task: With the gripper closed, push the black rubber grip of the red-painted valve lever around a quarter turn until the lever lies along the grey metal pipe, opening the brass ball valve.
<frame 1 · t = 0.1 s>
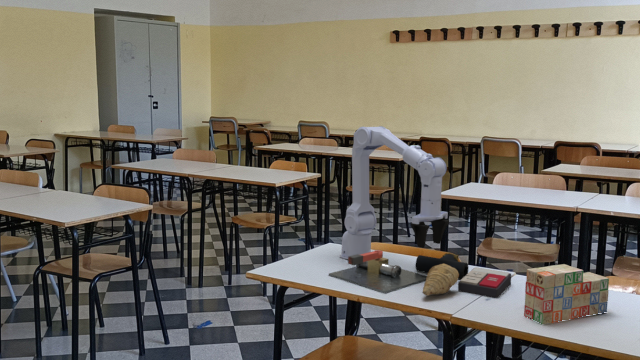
hand: (428, 245, 177), 10 cm above the table, fingers open, 7 cm apart
lever: (366, 257, 178), point 6 cm above the table, hinge at 0.0°
stack of blocks: (565, 316, 149), on the table
calculator: (484, 289, 170), on the table
seashell: (437, 295, 163), on the table
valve: (377, 273, 182), on the table
pipe connector: (445, 273, 185), on the table
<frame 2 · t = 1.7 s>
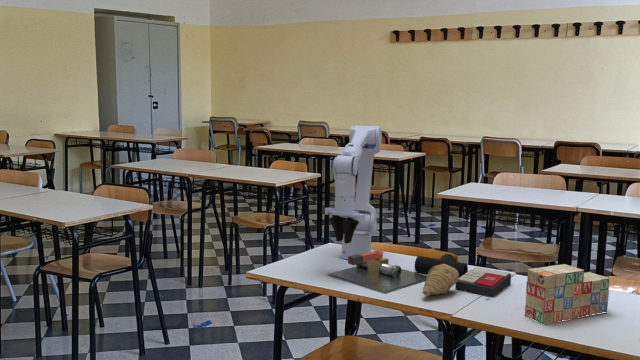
hand: (343, 241, 177), 10 cm above the table, fingers open, 3 cm apart
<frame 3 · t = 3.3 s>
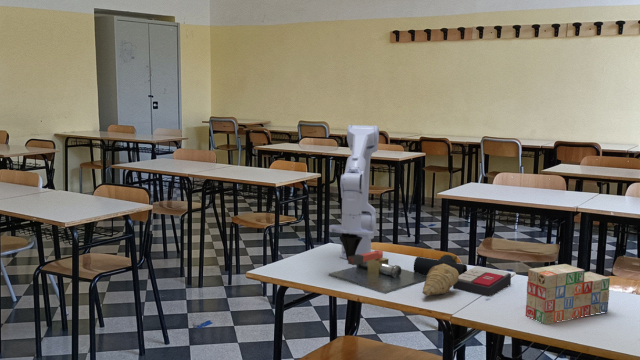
hand: (350, 259, 176), 6 cm above the table, fingers closed, pressing on lever
lever: (366, 257, 178), point 6 cm above the table, hinge at 0.0°, touching gripper
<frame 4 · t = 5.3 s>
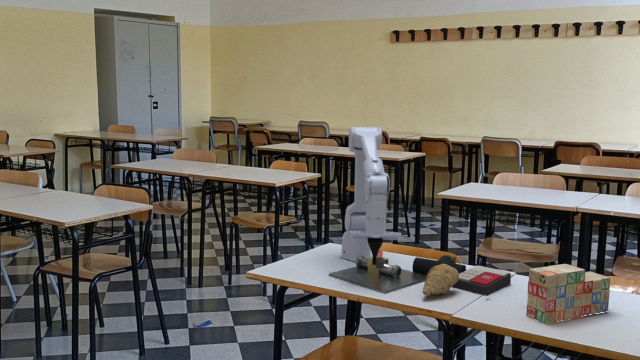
hand: (374, 264, 172), 6 cm above the table, fingers closed, pressing on lever
lever: (379, 258, 176), point 6 cm above the table, hinge at 43.6°, touching gripper
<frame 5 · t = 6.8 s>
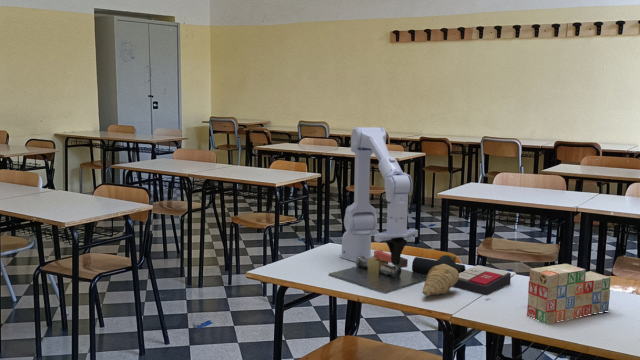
hand: (395, 263, 172), 6 cm above the table, fingers closed, pressing on lever
lever: (389, 258, 177), point 6 cm above the table, hinge at 79.6°, touching gripper
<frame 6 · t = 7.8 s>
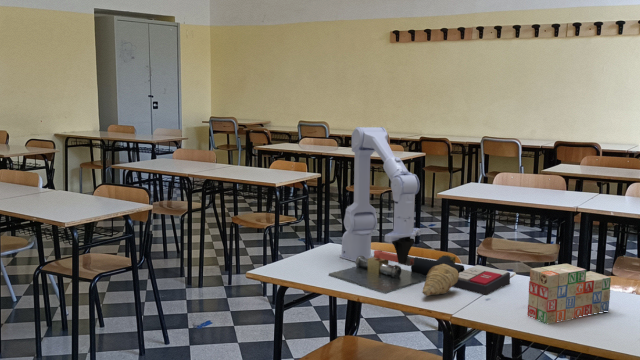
hand: (402, 262, 173), 6 cm above the table, fingers closed
lever: (393, 257, 178), point 6 cm above the table, hinge at 95.0°, touching gripper
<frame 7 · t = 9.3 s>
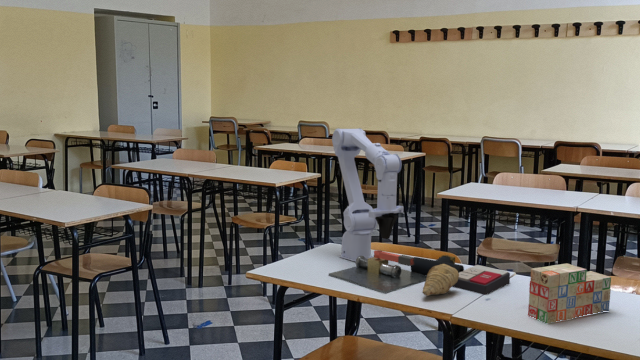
hand: (385, 238, 183), 10 cm above the table, fingers closed
lever: (393, 257, 178), point 6 cm above the table, hinge at 95.0°
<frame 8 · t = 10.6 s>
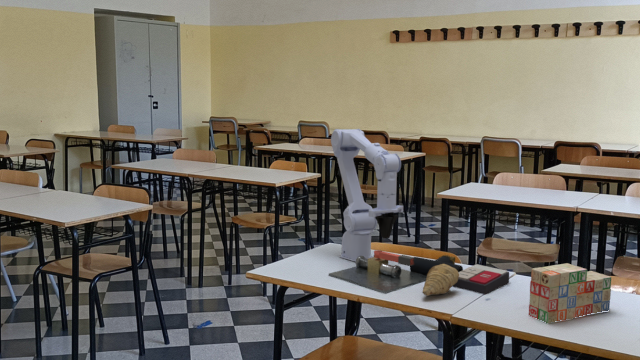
hand: (385, 237, 184), 10 cm above the table, fingers closed
at the end: lever at +95° (first picture: +0°) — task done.
